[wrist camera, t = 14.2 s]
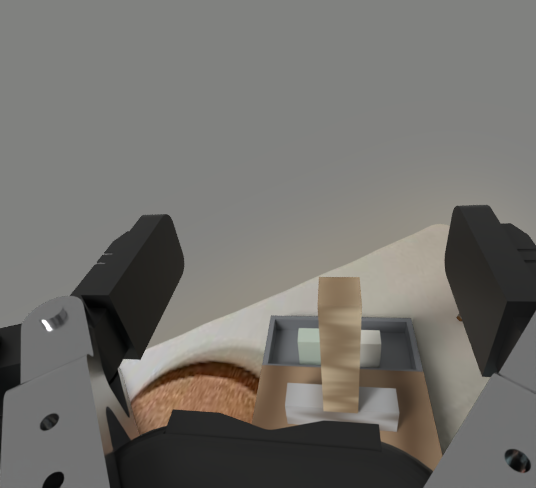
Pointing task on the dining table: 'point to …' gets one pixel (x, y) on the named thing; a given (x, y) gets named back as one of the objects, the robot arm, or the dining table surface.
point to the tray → (391, 329)
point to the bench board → (405, 382)
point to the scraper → (341, 366)
